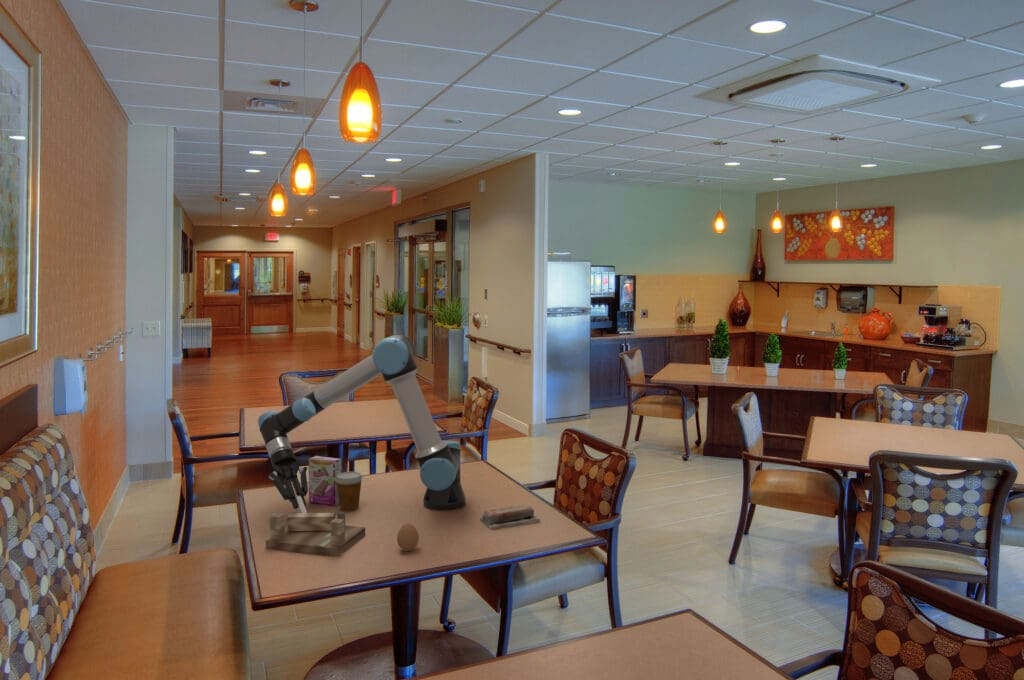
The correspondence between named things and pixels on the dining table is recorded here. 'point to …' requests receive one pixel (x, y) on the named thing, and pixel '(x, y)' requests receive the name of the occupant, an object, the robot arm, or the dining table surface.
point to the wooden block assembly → (313, 537)
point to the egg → (407, 537)
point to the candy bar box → (323, 480)
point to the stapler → (509, 517)
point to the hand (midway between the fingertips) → (303, 515)
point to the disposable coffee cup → (349, 489)
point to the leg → (310, 521)
